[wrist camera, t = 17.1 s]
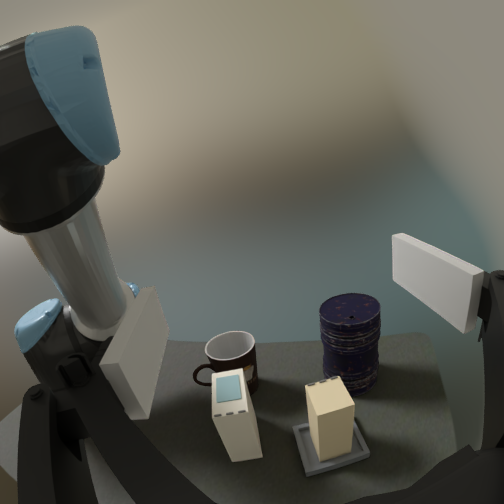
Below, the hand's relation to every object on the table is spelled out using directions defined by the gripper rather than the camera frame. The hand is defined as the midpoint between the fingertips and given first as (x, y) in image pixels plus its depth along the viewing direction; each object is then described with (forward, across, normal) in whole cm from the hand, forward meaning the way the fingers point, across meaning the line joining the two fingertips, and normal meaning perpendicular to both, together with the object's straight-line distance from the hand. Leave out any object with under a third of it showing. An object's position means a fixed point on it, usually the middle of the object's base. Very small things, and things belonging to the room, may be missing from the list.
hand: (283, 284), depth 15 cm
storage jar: (+24, +13, -32) cm, 42 cm away
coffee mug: (+29, -8, -32) cm, 44 cm away
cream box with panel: (+16, -7, -32) cm, 36 cm away
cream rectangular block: (+11, +5, -31) cm, 34 cm away
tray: (+11, +5, -32) cm, 34 cm away
